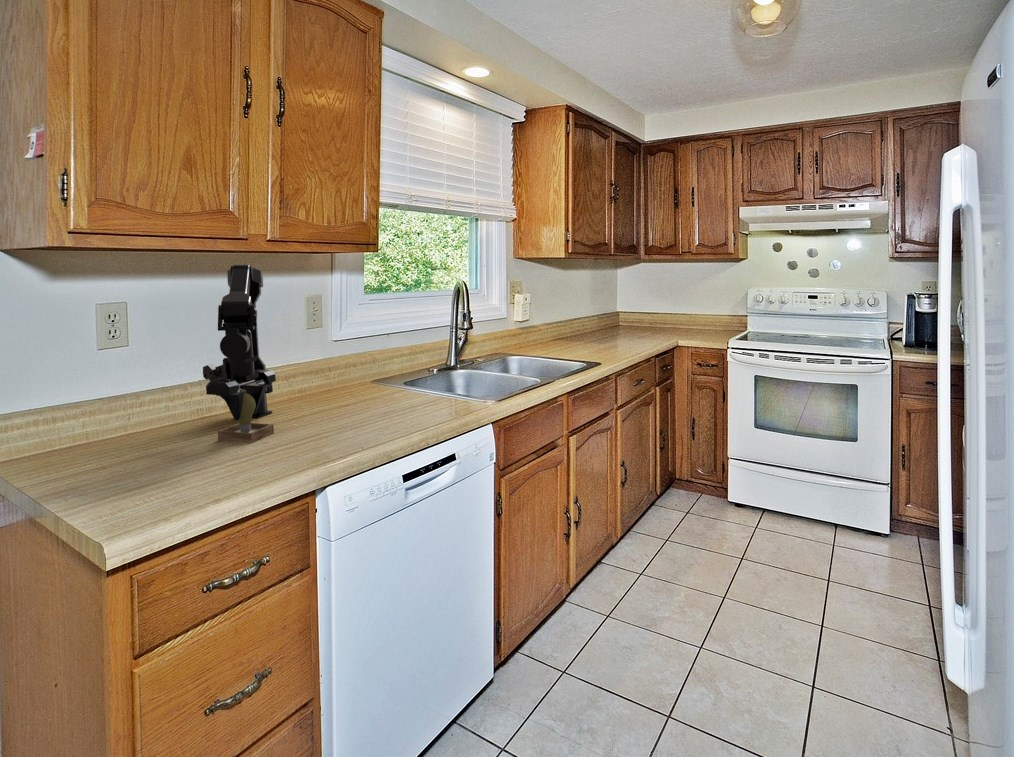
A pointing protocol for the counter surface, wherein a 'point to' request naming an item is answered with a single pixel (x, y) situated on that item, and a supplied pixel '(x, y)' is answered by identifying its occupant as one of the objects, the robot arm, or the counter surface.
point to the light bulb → (246, 413)
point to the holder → (236, 435)
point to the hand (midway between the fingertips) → (245, 416)
